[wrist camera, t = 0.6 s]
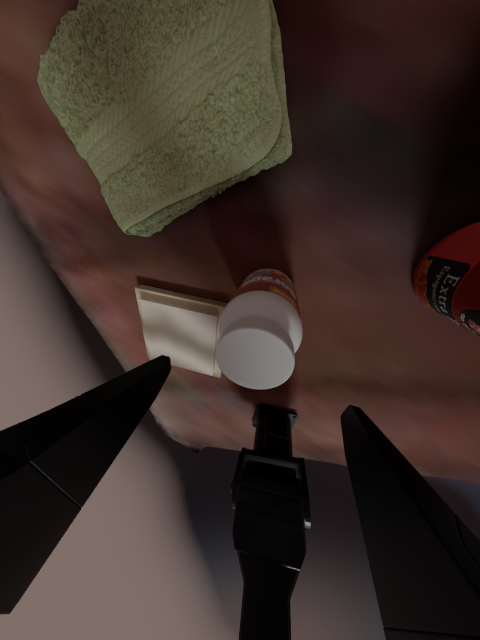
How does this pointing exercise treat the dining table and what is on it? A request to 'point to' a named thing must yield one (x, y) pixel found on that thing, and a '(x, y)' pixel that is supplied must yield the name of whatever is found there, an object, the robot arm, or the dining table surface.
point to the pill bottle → (260, 331)
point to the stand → (181, 328)
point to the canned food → (452, 277)
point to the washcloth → (169, 100)
